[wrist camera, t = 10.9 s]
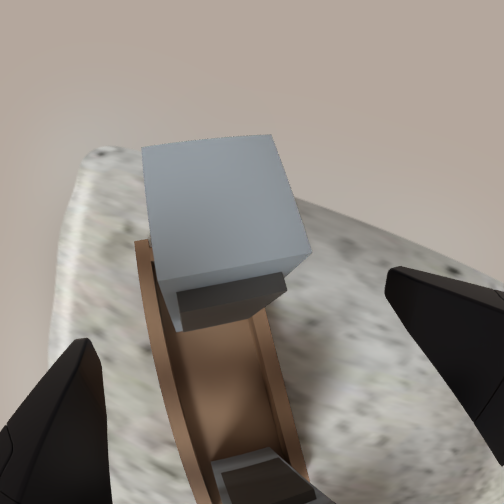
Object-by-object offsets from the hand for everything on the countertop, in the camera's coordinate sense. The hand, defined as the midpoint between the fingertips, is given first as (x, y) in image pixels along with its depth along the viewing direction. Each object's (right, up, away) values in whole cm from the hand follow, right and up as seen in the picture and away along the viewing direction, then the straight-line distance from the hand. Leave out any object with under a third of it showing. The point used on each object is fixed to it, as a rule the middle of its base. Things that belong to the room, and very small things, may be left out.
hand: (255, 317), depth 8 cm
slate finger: (-3, -1, +12) cm, 12 cm away
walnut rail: (-2, -7, +11) cm, 13 cm away
